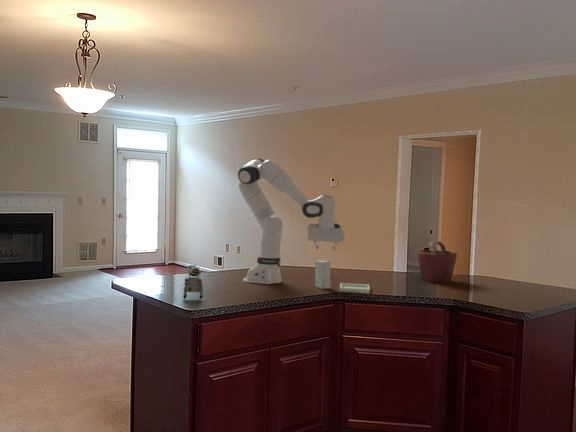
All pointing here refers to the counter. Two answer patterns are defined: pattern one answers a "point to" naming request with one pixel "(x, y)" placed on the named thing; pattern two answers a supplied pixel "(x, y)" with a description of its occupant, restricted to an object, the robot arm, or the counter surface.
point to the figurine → (193, 281)
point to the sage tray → (354, 288)
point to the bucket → (436, 264)
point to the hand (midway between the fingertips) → (325, 249)
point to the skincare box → (322, 274)
